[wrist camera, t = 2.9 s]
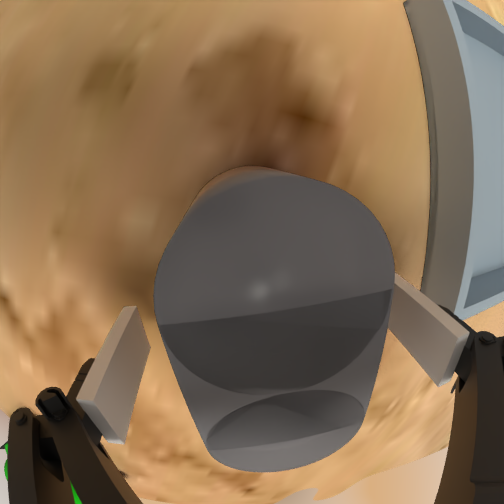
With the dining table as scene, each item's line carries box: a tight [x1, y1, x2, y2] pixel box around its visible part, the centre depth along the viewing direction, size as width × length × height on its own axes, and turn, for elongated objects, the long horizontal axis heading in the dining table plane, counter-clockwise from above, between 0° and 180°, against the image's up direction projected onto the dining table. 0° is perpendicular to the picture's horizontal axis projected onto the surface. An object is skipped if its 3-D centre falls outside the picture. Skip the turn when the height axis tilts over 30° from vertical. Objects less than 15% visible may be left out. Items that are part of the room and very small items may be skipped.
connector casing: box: [153, 166, 395, 472], centre depth 13 cm, size 16×7×8 cm, turn 5°
